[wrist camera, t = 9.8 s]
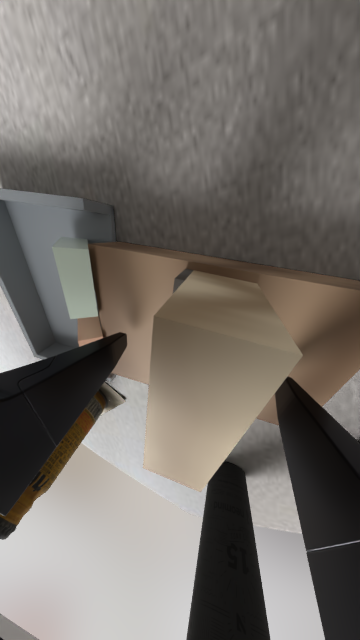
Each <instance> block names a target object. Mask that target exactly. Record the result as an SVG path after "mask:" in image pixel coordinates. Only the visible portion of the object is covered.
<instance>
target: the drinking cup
mask: <svg viewBox="0 0 360 640" xmlns="http://www.w3.org/2000/svg"><path fill="white" fill-rule="evenodd" d="M187 640H270V634H269V628H268V621H267V615H266V608H265V602H264V595H263V589H262V582H261V576H260V569H259V563H258V556H257V549H256V543H255V537H254V530H253V523H252V517H251V510H250V504H249V497H248V491H247V484H246V478H245V473H244V471H243V470H242V469H241V468H239V467H238V466H236V465H234V464H231V463H227V462H223V463H222V464H221V466H220V467H219V468H218V470H217V471H216V472H215V474H214V475H213V476H212V478H211V479H210V480H209V482H208V487H207V494H206V501H205V508H204V516H203V523H202V531H201V538H200V545H199V553H198V560H197V568H196V574H195V581H194V589H193V596H192V603H191V611H190V618H189V625H188V633H187Z"/></svg>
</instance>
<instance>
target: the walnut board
mask: <svg viewBox="0 0 360 640" xmlns="http://www.w3.org/2000/svg"><path fill="white" fill-rule="evenodd" d="M88 249H89V255H90V262H91V268H92V274H93V280H94V286H95V292H96V298H97V304H98V310H99V316H100V322H101V329H102V335H103V338H105V337H107V336H110V335H113V334H116V333H118V332H122V333H126V334H127V347H126V349H125V351H124V353H123V354H122V356H121V358H120V360H119V361H118V363H117V365H116V366H115V368H114V369H113V371H112V372H111V373H113V374H116V375H119V376H123V377H126V378H129V379H132V380H135V381H139V382H142V383H145V384H148V385H149V375H150V361H151V346H152V332H153V318H154V315H155V314H156V313H157V311H158V310H159V309H160V308H161V307H162V306H163V305H164V304H165V302H166V301H167V300H168V299H169V298H170V297H171V296H172V294H173V287H174V279H175V278H176V277H177V276H178V275H179V274H180V273H181V272H183V271H184V270H185V269H190V270H195V271H200V272H205V273H209V274H214V275H219V276H224V277H228V278H233V279H238V280H243V281H247V282H252V283H257V284H258V286H259V287H260V289H261V290H262V292H263V293H264V295H265V297H266V298H267V300H268V301H269V303H270V304H271V306H272V308H273V309H274V311H275V312H276V314H277V315H278V317H279V318H280V320H281V322H282V323H283V325H284V326H285V328H286V329H287V331H288V333H289V334H290V336H291V337H292V339H293V340H294V342H295V343H296V345H297V347H298V348H299V350H300V351H301V353H302V354H303V356H302V357H301V359H300V360H299V361H298V363H297V364H296V365H295V367H294V368H293V369H292V371H291V372H290V374H289V375H288V377H291V378H293V379H294V380H295V381H296V382H297V383H298V384H299V385H300V386H301V387H302V388H303V389H304V390H305V391H306V392H307V393H308V394H309V395H310V396H311V397H312V398H313V399H314V400H315V401H316V402H317V403H318V404H319V405H320V406H321V407H322V406H323V405H324V404H325V403H326V402H327V401H328V400H329V399H330V398H331V397H332V396H333V395H334V394H335V393H336V392H337V391H338V390H339V389H340V388H341V387H342V386H343V385H344V384H345V383H346V382H347V381H348V380H349V379H350V378H351V377H352V376H353V375H354V374H355V373H356V372H357V371H359V370H360V281H358V280H352V279H346V278H340V277H334V276H327V275H321V274H315V273H309V272H303V271H297V270H291V269H285V268H279V267H272V266H266V265H260V264H254V263H248V262H242V261H236V260H230V259H224V258H217V257H211V256H205V255H199V254H193V253H187V252H181V251H175V250H168V249H162V248H156V247H150V246H144V245H138V244H132V243H126V242H106V243H92V244H88ZM257 419H260V420H263V421H266V422H270V423H273V424H276V425H279V423H278V418H277V409H276V400H275V394H274V395H273V396H272V398H271V399H270V400H269V402H268V403H267V404H266V406H265V407H264V408H263V410H262V411H261V412H260V414H259V415H258V416H257Z"/></svg>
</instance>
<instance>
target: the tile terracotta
mask: <svg viewBox="0 0 360 640" xmlns="http://www.w3.org/2000/svg"><path fill="white" fill-rule="evenodd" d="M102 338H103V335H102V330H101V326H100V321H99V317H98V316H97V317H87V318H78V344H79V347H80V346H83V345H85V344H88V343H91V342H94V341H96V340H99V339H102Z"/></svg>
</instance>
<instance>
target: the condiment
mask: <svg viewBox="0 0 360 640" xmlns="http://www.w3.org/2000/svg"><path fill="white" fill-rule="evenodd" d="M109 400H110V401H109ZM124 402H126V401H125V400H124V399H123V398H122V397H121V396H120V395H119V394H118V393H117V392H116V391H114V390H113V389H112V388H111V387H110V386H109V385H107V384H106V383H105V382H104V383H103V384H102V386H101V387H100V389H99V390H98V391H97V393H96V394H95V395H94V397H93V398H92V399H91V401H90V402H89V404H88V405H87V406H86V408H85V409H84V410H83V412H82V413H81V414H80V416H79V417H78V419H77V420H76V421H75V423H74V424H73V425H72V427H71V428H70V429H69V431H68V432H67V434H66V435H65V436H64V438H63V439H62V440H61V442H60V443H59V444H58V446H57V447H56V449H55V450H54V451H53V453H52V454H51V456H50V457H49V458H48V460H47V461H46V462H45V464H44V465H43V466H42V468H41V469H40V471H39V472H38V473H37V475H36V476H35V477H34V479H33V480H32V481H31V483H30V484H29V486H28V487H27V488H26V490H25V491H24V492H23V494H22V495H21V496H20V498H19V499H18V501H17V502H16V503H15V505H14V506H13V507H12V509H11V510H10V511H9V512H8V514H7V515H6V516H3V515H1V514H0V539H6V538H7V537H8V536H9V535H10V534H11V533H12V532H14V531H15V529H16V526H17V525H18V524H19V522H20V520H21V519H22V517H23V516H24V515H25V514H26V513H27V512H28V511H29V509H30V508H31V507H32V504H33V502H34V501H35V500H36V499H37V498H38V497H40V496H41V495H42V494H43V493H45V492H46V491H47V490H48V489H49V488H50V486H51V485H52V483H53V482H54V481H55V479H56V478H57V476H58V475H59V473H60V472H61V471H62V469H63V468H64V466H65V465H66V463H67V462H68V461H69V459H70V458H71V456H72V455H73V453H74V452H75V450H76V449H77V448H78V446H79V445H80V443H81V442H82V440H83V439H84V438H85V436H86V435H87V433H88V432H89V431H90V429H91V428H92V426H93V425H94V424H95V422H96V421H97V419H98V418H99V416H101V415H103V414H104V413H106V412H108V411H110V410H111V409H114V408H115V407H117V406H118V405H120V404H123V403H124Z"/></svg>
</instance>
